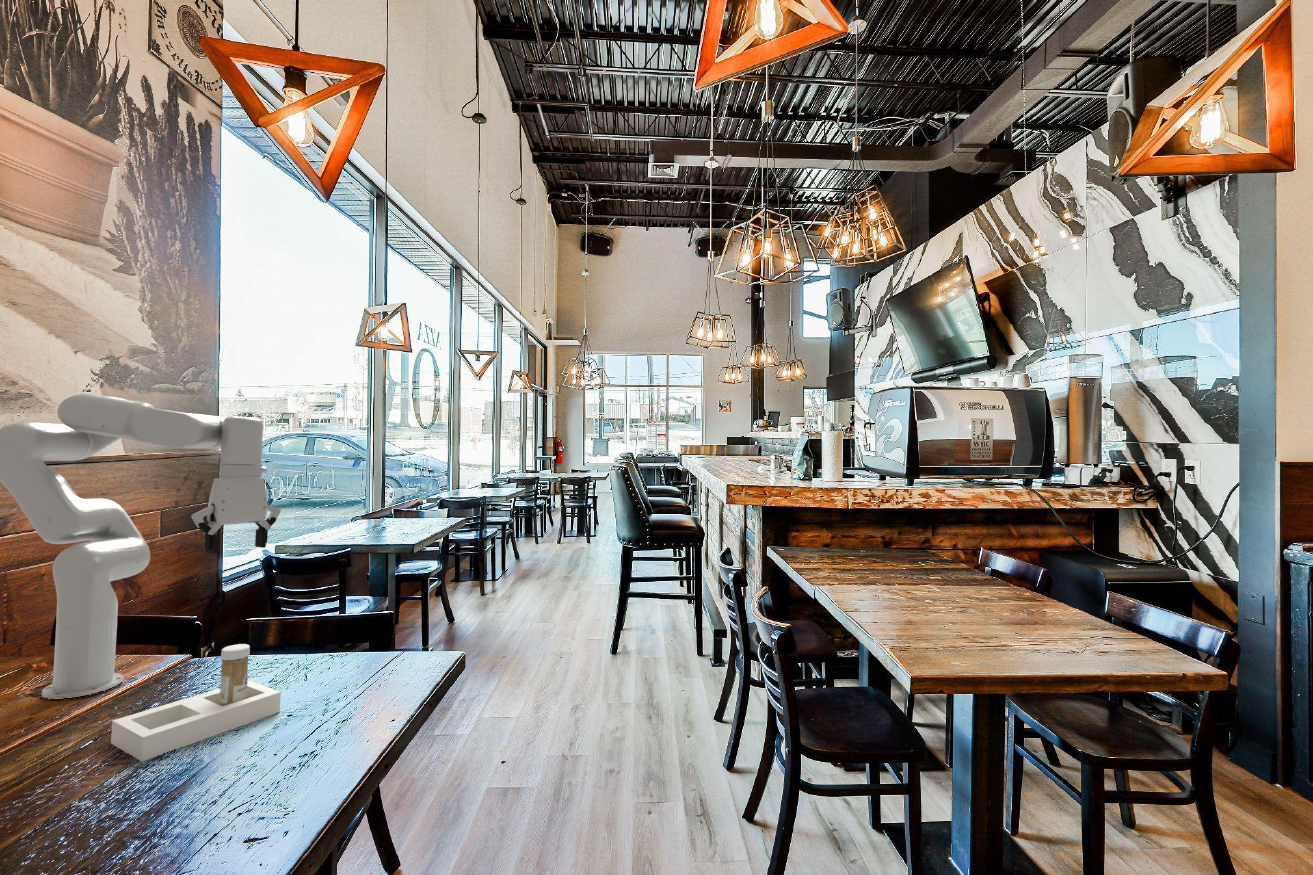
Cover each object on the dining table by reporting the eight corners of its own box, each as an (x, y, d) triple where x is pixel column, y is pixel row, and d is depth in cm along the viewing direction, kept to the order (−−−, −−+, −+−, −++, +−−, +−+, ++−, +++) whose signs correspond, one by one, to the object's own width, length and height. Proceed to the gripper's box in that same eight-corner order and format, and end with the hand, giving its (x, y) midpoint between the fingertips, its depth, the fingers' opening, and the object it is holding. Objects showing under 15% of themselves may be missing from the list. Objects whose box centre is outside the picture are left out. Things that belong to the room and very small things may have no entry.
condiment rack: (110, 743, 102) (112, 720, 102) (247, 699, 122) (248, 680, 122) (141, 761, 97) (143, 737, 97) (279, 712, 116) (280, 692, 116)
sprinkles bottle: (246, 717, 113) (249, 648, 114) (216, 723, 111) (220, 652, 111) (246, 709, 117) (250, 641, 118) (218, 714, 115) (222, 645, 115)
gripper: (272, 471, 138) (268, 543, 137) (185, 472, 123) (181, 553, 122) (290, 472, 134) (287, 546, 134) (203, 473, 119) (199, 557, 119)
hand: (236, 549), depth 128 cm, fingers open, 9 cm apart
